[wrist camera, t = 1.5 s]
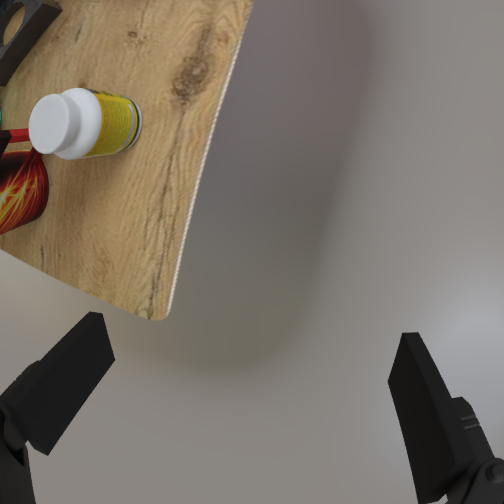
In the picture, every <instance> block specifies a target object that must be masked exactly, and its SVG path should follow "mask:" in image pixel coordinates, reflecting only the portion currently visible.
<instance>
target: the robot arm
mask: <svg viewBox="0 0 504 504" xmlns="http://www.w3.org/2000/svg"><path fill="white" fill-rule="evenodd" d="M114 361H115V358H114V354H113V351H112V348H111V344H110V340H109V337H108V333H107V329H106V326H105V322H104V318H103V314H102V313H96V312H89V313H88V314H86V315H85V316H84V317H83V318H82V319H81V320H80V321H79V322H78V323H77V324H76V325H75V326H74V327H73V328H72V329H71V330H70V331H69V332H68V333H67V334H66V335H65V336H64V337H63V338H62V339H61V340H60V341H59V342H58V343H57V344H56V345H55V346H54V347H53V348H52V349H51V350H50V351H49V352H48V353H47V354H46V355H45V356H44V357H43V358H42V359H41V360H40V361H36V362H34V363H33V364H31V365H29V366H28V367H27V368H26V369H25V370H24V371H23V372H22V374H21V375H19V376H18V377H17V378H16V381H15V380H14V382H13V383H12V384H11V385H10V386H9V387H8V388H7V389H6V390H5V391H4V392H3V393H2V395H0V504H36V502H35V497H34V492H33V486H32V480H31V473H30V467H29V458H28V450H27V447H26V445H25V443H26V442H27V440H28V441H29V442H30V444H31V445H32V446H33V448H34V449H35V450H37V451H39V452H41V453H43V454H45V455H47V456H48V455H49V453H50V452H51V450H52V449H53V447H54V446H55V444H56V443H57V441H58V440H59V438H60V437H61V435H62V434H63V433H64V431H65V430H66V428H67V427H68V425H69V424H70V422H71V421H72V420H73V418H74V417H75V415H76V414H77V412H78V411H79V409H80V408H81V406H82V405H83V404H84V403H85V401H86V400H87V398H88V397H89V395H90V394H91V393H92V391H93V390H94V389H95V387H96V386H97V384H98V383H99V381H100V380H101V379H102V377H103V376H104V375H105V373H106V372H107V371H108V369H109V368H110V367H111V365H112V364H113V362H114ZM388 385H389V388H390V391H391V395H392V398H393V401H394V405H395V409H396V412H397V415H398V419H399V423H400V427H401V430H402V434H403V438H404V442H405V446H406V450H407V454H408V458H409V462H410V466H411V471H412V475H413V480H414V484H415V489H416V494H417V499H418V504H428V503H432V502H437V501H439V500H440V499H441V498H442V497H443V496H444V495H445V494H446V495H447V499H448V501H447V502H446V503H445V504H504V460H502V459H500V458H495V457H494V455H493V453H492V450H491V448H490V446H489V443H488V441H487V439H486V437H485V434H484V432H483V430H482V428H481V426H479V424H480V423H479V421H478V419H477V418H476V416H475V413H474V411H473V409H472V407H471V405H470V404H469V403H468V402H467V401H466V400H465V399H464V398H463V397H457V398H451V396H450V393H449V391H448V389H447V387H446V385H445V383H444V381H443V379H442V377H441V375H440V373H439V371H438V369H437V367H436V365H435V363H434V361H433V359H432V357H431V355H430V353H429V351H428V349H427V348H426V346H425V344H424V342H423V340H422V338H421V337H420V334H419V333H418V332H415V333H414V332H413V333H402V336H401V339H400V344H399V347H398V350H397V353H396V357H395V360H394V363H393V367H392V370H391V373H390V376H389V379H388Z"/></svg>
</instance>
